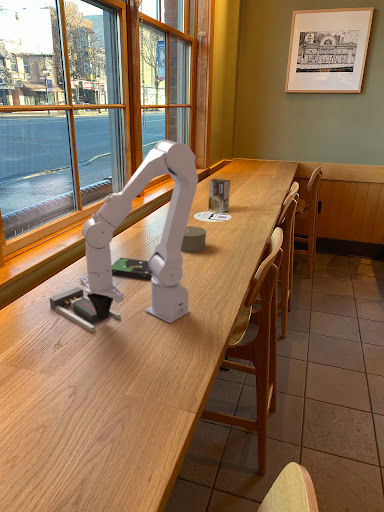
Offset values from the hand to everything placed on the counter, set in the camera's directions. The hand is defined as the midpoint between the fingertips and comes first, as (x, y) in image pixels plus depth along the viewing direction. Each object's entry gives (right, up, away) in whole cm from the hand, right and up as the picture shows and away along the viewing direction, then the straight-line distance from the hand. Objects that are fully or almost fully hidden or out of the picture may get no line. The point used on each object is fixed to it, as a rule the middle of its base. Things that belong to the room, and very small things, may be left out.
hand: (103, 318), depth 98 cm
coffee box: (+36, +39, +105) cm, 118 cm away
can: (+22, +19, +53) cm, 60 cm away
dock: (-7, +1, +6) cm, 9 cm away
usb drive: (-5, 0, +6) cm, 8 cm away
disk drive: (+3, +10, +31) cm, 33 cm away
